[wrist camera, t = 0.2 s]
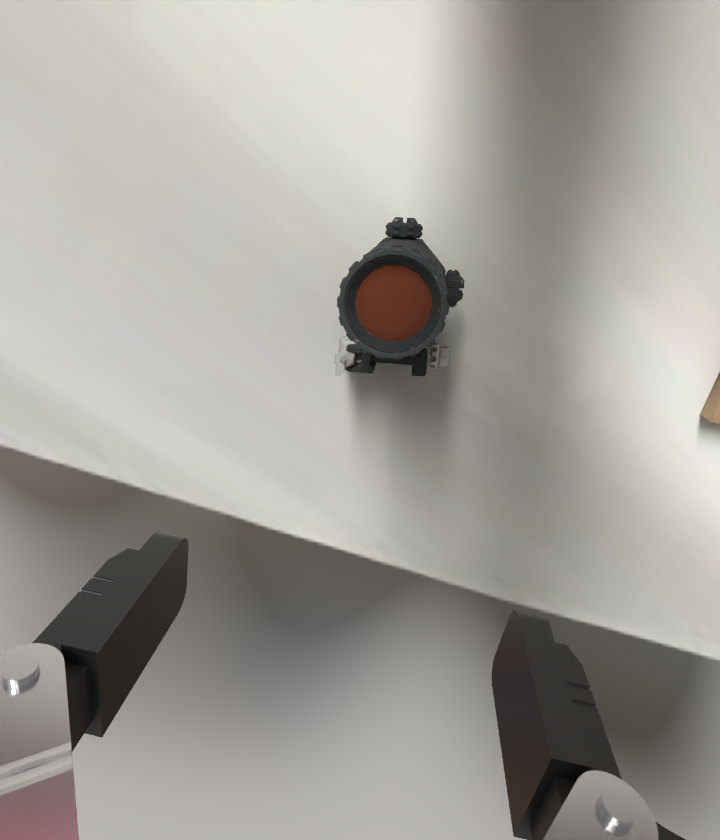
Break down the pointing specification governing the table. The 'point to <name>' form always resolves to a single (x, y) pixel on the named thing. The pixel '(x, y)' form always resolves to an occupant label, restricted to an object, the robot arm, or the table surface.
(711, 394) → the walnut board
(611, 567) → the table surface
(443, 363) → the scope
